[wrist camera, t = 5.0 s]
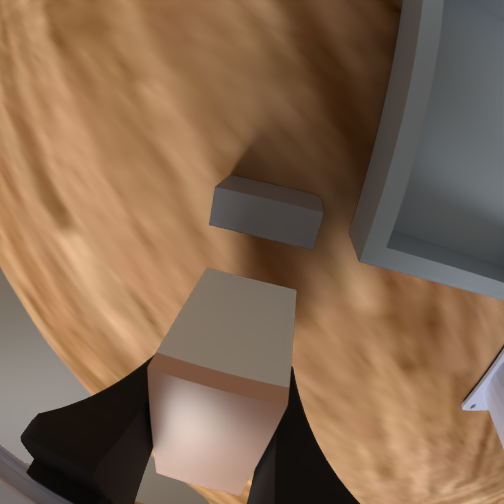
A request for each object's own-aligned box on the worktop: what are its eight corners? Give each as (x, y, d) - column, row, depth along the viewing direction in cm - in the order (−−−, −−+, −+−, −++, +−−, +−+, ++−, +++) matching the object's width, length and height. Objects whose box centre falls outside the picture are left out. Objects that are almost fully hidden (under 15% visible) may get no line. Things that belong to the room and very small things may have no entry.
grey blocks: (320, 196, 13) (323, 212, 11) (258, 393, 19) (252, 424, 17) (229, 174, 13) (215, 186, 11) (198, 378, 19) (187, 406, 17)
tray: (564, 63, 7) (597, 63, 5) (510, 281, 13) (536, 309, 10) (406, -35, 8) (426, -62, 5) (348, 233, 14) (359, 261, 11)
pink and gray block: (296, 290, 12) (287, 405, 7) (258, 401, 15) (239, 495, 10) (207, 267, 12) (147, 367, 7) (192, 384, 15) (156, 472, 10)
